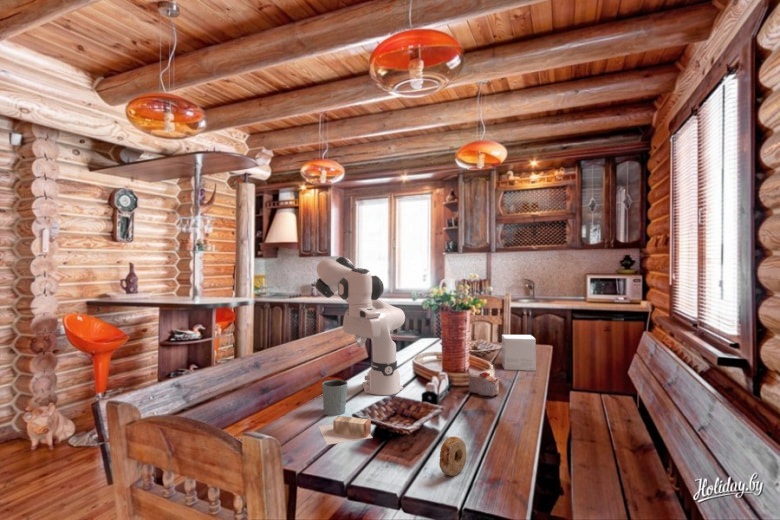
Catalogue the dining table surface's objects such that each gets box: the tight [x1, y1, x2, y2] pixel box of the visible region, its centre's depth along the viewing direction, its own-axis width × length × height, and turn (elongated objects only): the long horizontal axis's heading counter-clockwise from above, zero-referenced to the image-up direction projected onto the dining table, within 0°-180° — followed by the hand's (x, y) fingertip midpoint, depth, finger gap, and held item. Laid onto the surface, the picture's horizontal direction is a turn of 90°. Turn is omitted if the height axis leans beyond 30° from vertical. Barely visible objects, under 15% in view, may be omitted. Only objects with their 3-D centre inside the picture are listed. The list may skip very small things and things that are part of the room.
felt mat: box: [317, 423, 373, 446], centre depth 145 cm, size 16×16×1 cm
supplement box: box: [501, 334, 537, 372], centre depth 236 cm, size 17×13×18 cm
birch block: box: [333, 415, 372, 437], centre depth 145 cm, size 4×4×12 cm
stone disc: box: [439, 436, 468, 477], centre depth 118 cm, size 10×4×10 cm, turn 136°
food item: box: [468, 371, 501, 398], centre depth 189 cm, size 14×8×10 cm, turn 53°
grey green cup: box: [321, 379, 348, 417], centre depth 165 cm, size 10×10×12 cm
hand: (360, 347), depth 156 cm, fingers closed
